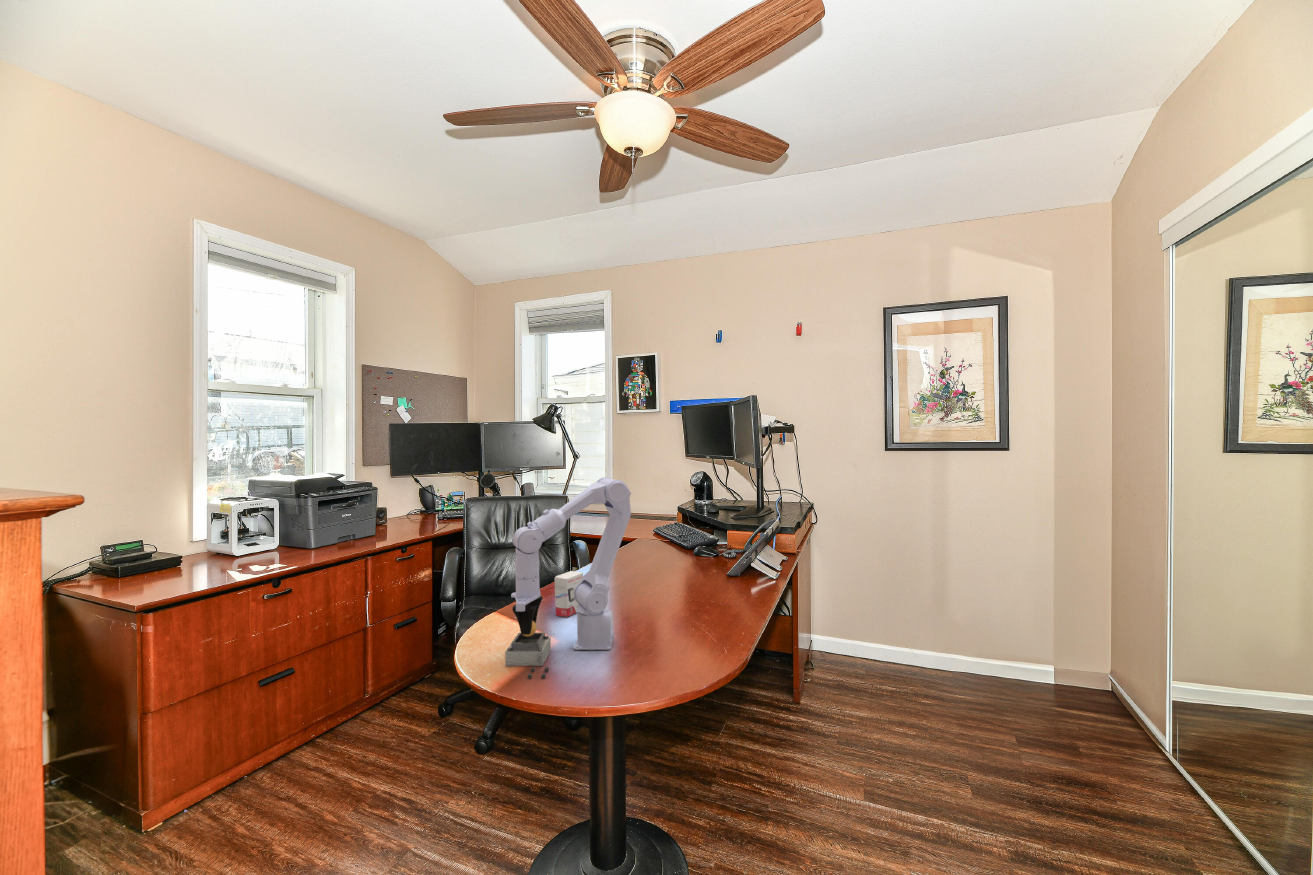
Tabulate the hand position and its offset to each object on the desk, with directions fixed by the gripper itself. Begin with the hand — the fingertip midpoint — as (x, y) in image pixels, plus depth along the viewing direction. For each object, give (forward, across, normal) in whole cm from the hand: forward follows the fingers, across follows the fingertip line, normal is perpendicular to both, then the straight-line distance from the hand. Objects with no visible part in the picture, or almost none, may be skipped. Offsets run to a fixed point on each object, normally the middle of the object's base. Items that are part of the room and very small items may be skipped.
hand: (528, 630), depth 132 cm
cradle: (+7, +9, +4) cm, 12 cm away
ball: (+1, 0, 0) cm, 1 cm away
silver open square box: (+7, 0, 0) cm, 7 cm away
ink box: (+7, -32, +4) cm, 33 cm away
